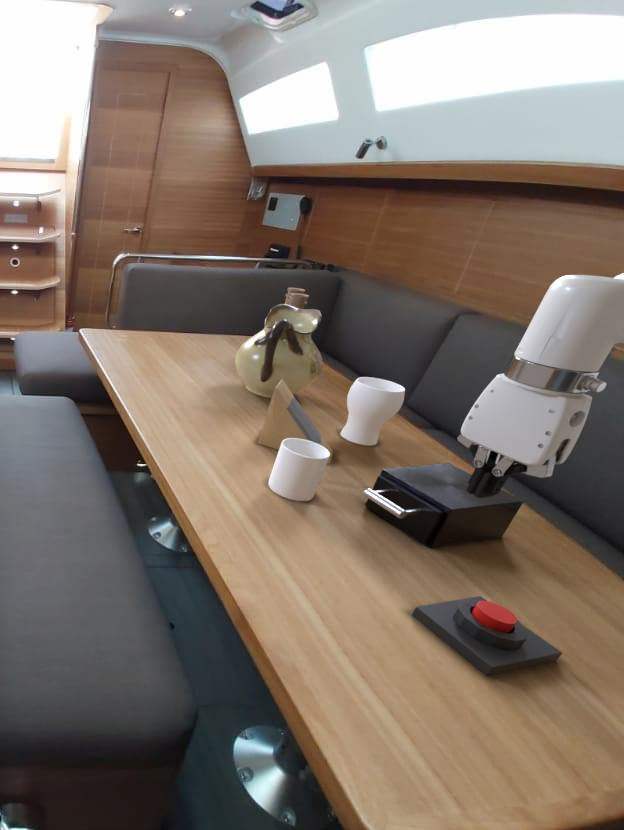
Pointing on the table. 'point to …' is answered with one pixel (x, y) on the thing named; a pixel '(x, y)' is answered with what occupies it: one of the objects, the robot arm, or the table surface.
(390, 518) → the black drawer
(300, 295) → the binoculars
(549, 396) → the robot arm
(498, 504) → the black drawer box
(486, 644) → the control block
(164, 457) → the table surface
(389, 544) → the table surface
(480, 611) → the button
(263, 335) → the pitcher
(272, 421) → the sandwich container
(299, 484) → the mug
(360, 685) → the table surface
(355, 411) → the cup
